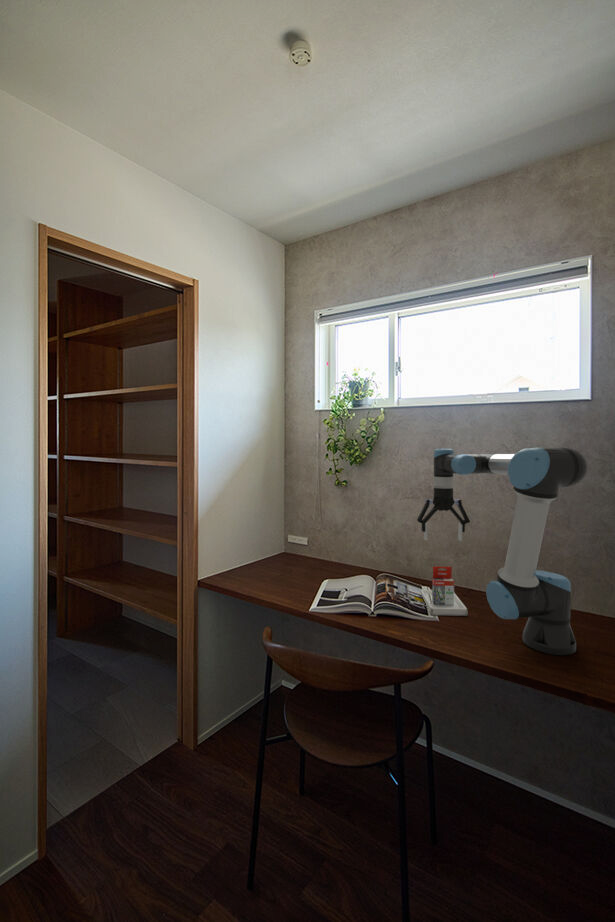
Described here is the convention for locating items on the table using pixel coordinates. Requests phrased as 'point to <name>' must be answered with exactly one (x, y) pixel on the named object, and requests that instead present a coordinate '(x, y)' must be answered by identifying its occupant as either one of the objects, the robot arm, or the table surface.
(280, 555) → the table surface
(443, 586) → the ink box
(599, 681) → the table surface
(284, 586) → the table surface
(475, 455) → the robot arm
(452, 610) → the tray
